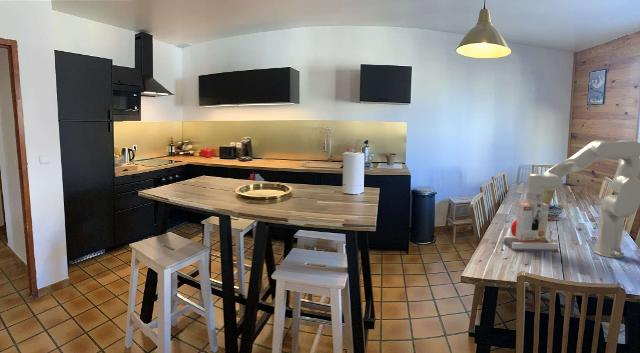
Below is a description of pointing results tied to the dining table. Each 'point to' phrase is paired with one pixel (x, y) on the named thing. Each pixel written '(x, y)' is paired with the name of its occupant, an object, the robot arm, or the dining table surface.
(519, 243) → the shallow gray tray
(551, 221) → the dining table surface
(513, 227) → the apple
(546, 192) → the plant pot
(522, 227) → the cracker box
